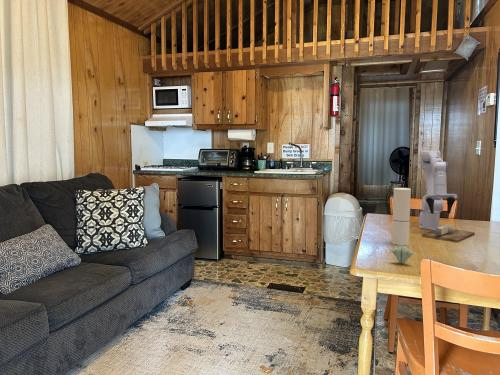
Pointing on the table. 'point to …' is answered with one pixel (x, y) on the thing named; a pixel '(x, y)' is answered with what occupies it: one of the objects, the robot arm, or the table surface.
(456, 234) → the base
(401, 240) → the cream tall block
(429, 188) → the robot arm
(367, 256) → the table surface
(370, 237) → the table surface
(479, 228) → the table surface
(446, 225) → the coupling lever
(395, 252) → the green fan shape
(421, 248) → the table surface
